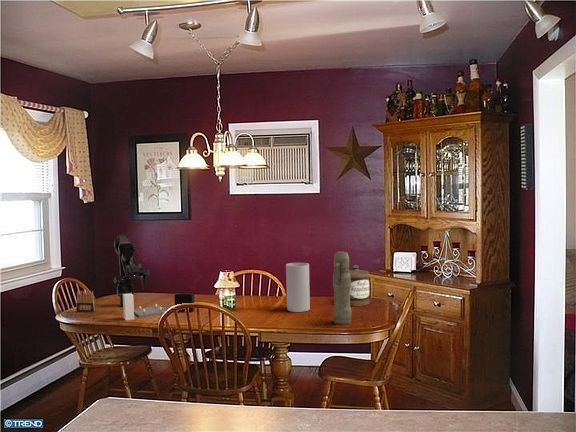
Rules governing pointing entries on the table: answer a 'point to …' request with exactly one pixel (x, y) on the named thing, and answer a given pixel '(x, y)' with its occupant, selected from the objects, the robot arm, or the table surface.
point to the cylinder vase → (297, 287)
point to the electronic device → (184, 300)
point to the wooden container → (359, 287)
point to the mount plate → (149, 311)
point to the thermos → (341, 289)
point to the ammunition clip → (85, 302)
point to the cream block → (128, 306)
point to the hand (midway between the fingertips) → (136, 291)
